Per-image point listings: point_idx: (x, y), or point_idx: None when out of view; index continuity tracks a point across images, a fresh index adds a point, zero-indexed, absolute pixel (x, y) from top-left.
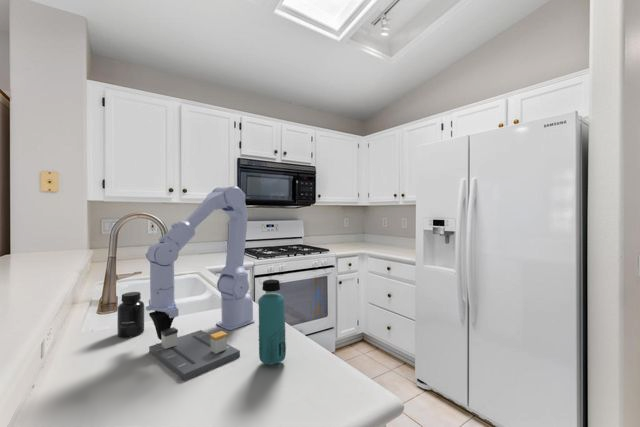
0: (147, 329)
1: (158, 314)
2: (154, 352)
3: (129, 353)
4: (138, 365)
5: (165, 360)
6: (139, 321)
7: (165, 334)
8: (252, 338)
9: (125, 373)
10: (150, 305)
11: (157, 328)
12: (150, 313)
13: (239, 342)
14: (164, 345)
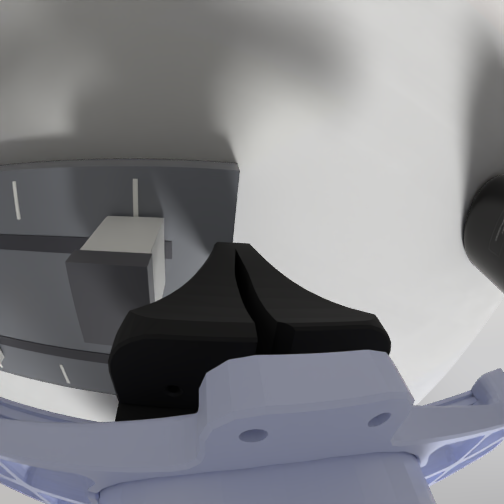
0: (470, 276)
1: (179, 384)
2: (149, 164)
3: (322, 93)
4: (124, 65)
5: (11, 169)
6: (502, 265)
7: (69, 261)
8: None
9: (98, 4)
10: (384, 451)
11: (224, 272)
12: (362, 340)
13: (61, 401)
14: (113, 223)
